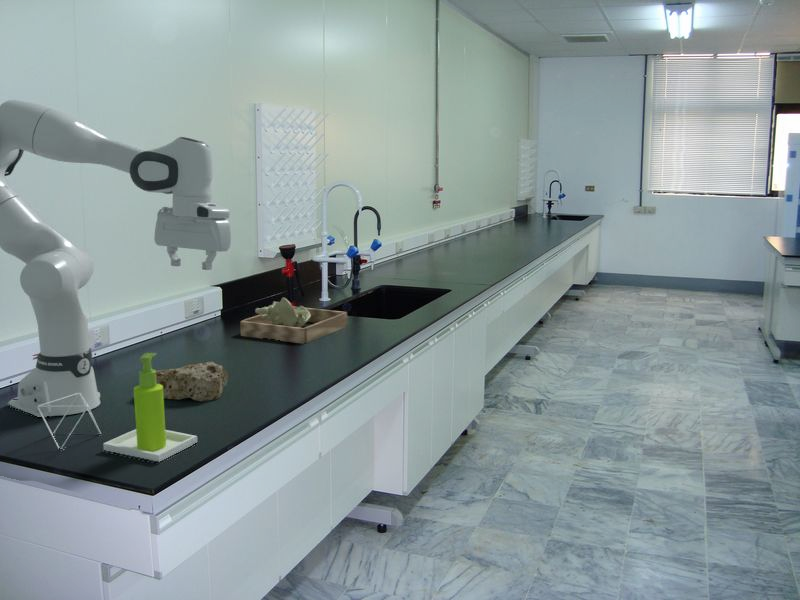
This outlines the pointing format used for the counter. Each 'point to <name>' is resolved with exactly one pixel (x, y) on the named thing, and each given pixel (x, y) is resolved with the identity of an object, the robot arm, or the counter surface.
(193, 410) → the counter surface
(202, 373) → the rock
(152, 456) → the tray
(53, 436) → the geometric polyhedron
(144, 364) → the soap dispenser
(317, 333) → the specimen frame
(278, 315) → the pelvis bone
